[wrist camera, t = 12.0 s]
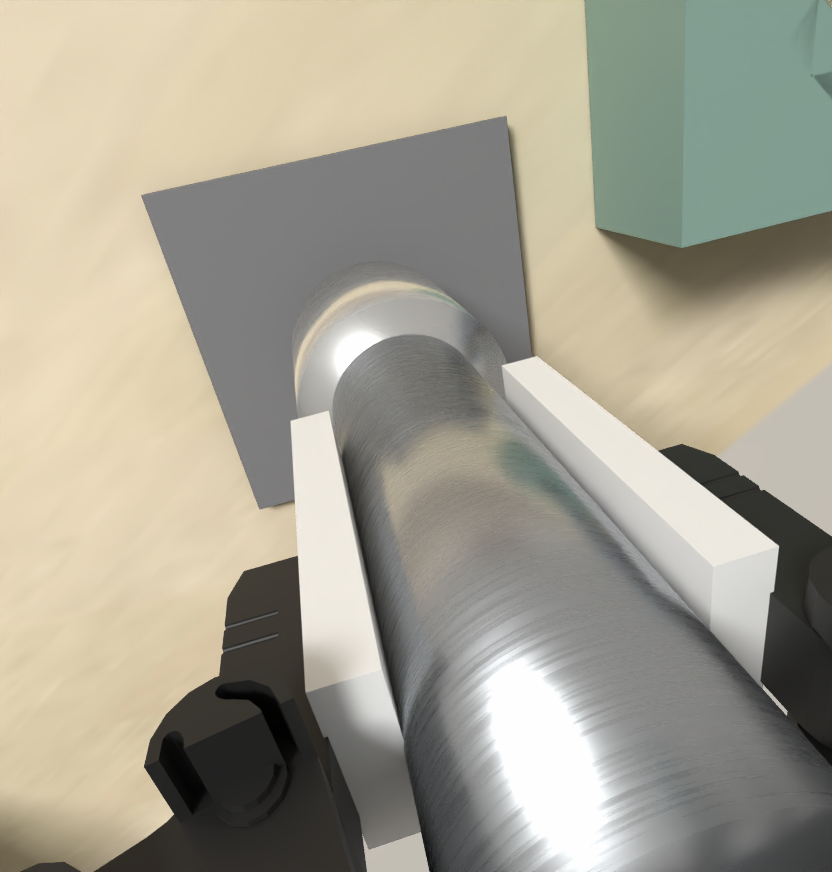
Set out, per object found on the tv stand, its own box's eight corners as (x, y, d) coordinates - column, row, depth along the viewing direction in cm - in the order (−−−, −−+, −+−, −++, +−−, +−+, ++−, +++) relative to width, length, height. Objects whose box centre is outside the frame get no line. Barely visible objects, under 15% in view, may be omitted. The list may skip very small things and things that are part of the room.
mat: (499, 117, 19) (506, 116, 18) (533, 426, 24) (539, 432, 23) (145, 194, 18) (141, 195, 17) (260, 501, 23) (259, 509, 22)
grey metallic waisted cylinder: (443, 242, 18) (1091, 619, 4) (469, 400, 20) (917, 987, 6) (269, 285, 17) (247, 913, 3) (317, 442, 19) (427, 1186, 6)
